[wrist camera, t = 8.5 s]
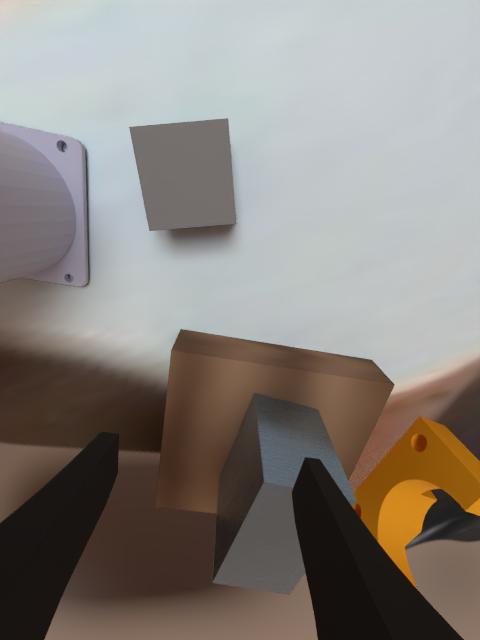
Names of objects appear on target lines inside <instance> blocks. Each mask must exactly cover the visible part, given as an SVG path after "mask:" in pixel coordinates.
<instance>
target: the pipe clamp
mask: <svg viewBox="0 0 480 640" xmlns="http://www.w3.org/2000/svg"><path fill="white" fill-rule="evenodd" d="M439 488H441V489H443V490H444V491H446V492H447V493H448V494H449V495H451V496H452V497H453V498H454V499H455V500H456V501H457V502H458V503H459V504H460V505H461V507H462V508H463V509H464V510H465V511H467V512H470V513H473V514H476V515H479V516H480V461H479V460H478V459H477V458H476V457H475V456H474V455H473V454H472V453H471V452H470V451H469V450H468V449H467V448H466V447H465V446H464V445H463V444H462V443H461V442H460V441H459V440H458V439H457V438H456V437H455V436H454V435H453V434H452V433H451V432H450V431H449V430H448V429H447V428H446V427H445V426H444V425H441V424H439V423H436V422H433V421H431V420H428V419H426V418H423V417H419V418H418V419H417V420H416V421H415V422H414V424H413V425H412V426H411V427H410V428H409V429H408V431H407V432H406V433H405V434H404V435H403V436H402V437H401V439H400V440H399V441H398V442H397V443H396V444H395V446H394V447H393V448H392V449H391V450H390V451H389V453H388V454H387V455H386V456H385V457H384V458H383V459H382V461H381V462H380V463H379V464H378V465H377V466H376V468H375V469H374V470H373V471H372V472H371V473H370V474H369V476H368V477H367V478H366V479H365V480H364V481H363V483H362V484H361V485H360V486H359V487H358V488H357V490H356V491H355V492H354V496H355V498H356V501H357V502H356V503H355V504H354V506H353V509H354V510H355V511H356V513H357V514H358V516H359V517H360V518H361V520H362V521H363V523H364V524H365V525H366V527H367V528H368V529H369V531H370V532H371V534H372V535H373V536H374V537H375V539H376V540H377V541H378V543H379V544H380V545H381V547H382V548H383V549H384V550H385V552H386V553H387V554H388V555H389V557H390V558H391V559H392V560H393V562H394V563H395V564H396V565H397V566H398V568H399V569H400V570H401V571H402V572H403V574H404V575H405V576H406V577H407V578H408V579H409V581H410V582H411V583H412V584H413V585H414V586H415V588H416V587H417V586H416V584H415V582H414V580H413V577H412V575H411V572H410V569H409V565H408V562H407V558H406V553H405V546H406V545H407V544H408V543H409V542H410V541H411V540H412V539H414V538H415V537H416V536H417V535H418V534H419V533H420V532H421V529H422V524H423V520H424V517H425V515H426V513H427V511H428V509H429V508H430V507H431V505H432V504H433V503H434V502H435V501H437V499H436V498H435V496H434V495H433V493H432V492H431V491H430V490H432V489H439Z"/></svg>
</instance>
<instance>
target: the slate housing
mask: <svg viewBox="0 0 480 640" xmlns="http://www.w3.org/2000/svg"><path fill="white" fill-rule="evenodd" d="M305 457H308V458H316V459H320V460H321V462H322V463H323V464H324V466H325V467H326V469H327V470H328V472H329V473H330V475H331V476H332V478H333V479H334V481H335V482H336V484H337V485H338V487H339V488H340V490H341V491H342V493H343V494H344V496H345V497H346V499H347V500H348V502H349V503H350V504H351V506H352V507H353V506H354V504H355V503H356V502H357V501H356V498H355V496H354V493H353V491H352V489H351V486H350V484H349V482H348V479H347V477H346V474H345V472H344V470H343V467H342V465H341V463H340V460H339V458H338V455H337V453H336V451H335V448H334V446H333V444H332V441H331V439H330V436H329V434H328V432H327V429H326V427H325V425H324V422H323V420H322V417H321V415H320V413H319V410H318V409H316V408H312V407H308V406H304V405H300V404H297V403H293V402H289V401H285V400H281V399H277V398H273V397H270V396H266V395H262V394H258V393H254V395H253V397H252V400H251V402H250V404H249V407H248V409H247V412H246V414H245V416H244V419H243V421H242V423H241V426H240V428H239V431H238V433H237V435H236V438H235V440H234V443H233V445H232V447H231V450H230V452H229V455H228V457H227V459H226V462H225V464H224V466H223V469H222V471H221V474H220V476H219V481H218V498H217V515H216V534H215V548H214V566H213V583H217V584H224V585H230V586H237V587H243V588H250V589H256V590H263V591H269V592H275V593H282V594H290V593H291V592H292V590H293V589H294V588H295V586H296V585H297V583H298V582H299V581H300V579H301V578H302V577H303V575H304V574H305V567H304V563H303V558H302V554H301V549H300V544H299V540H298V535H297V530H296V525H295V519H294V511H293V501H292V490H293V487H294V485H295V482H296V479H297V477H298V474H299V471H300V469H301V466H302V464H303V461H304V458H305Z"/></svg>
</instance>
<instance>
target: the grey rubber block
mask: <svg viewBox="0 0 480 640" xmlns="http://www.w3.org/2000/svg"><path fill="white" fill-rule="evenodd" d="M129 128H130V133H131V138H132V143H133V148H134V154H135V159H136V164H137V169H138V174H139V179H140V184H141V190H142V195H143V200H144V205H145V210H146V215H147V220H148V225H149V231H155V230H167V229H179V228H191V227H203V226H215V225H227V224H236V215H235V202H234V189H233V176H232V163H231V151H230V138H229V125H228V119H216V120H205V121H194V122H182V123H171V124H159V125H148V126H136V127H129Z"/></svg>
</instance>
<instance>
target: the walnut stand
mask: <svg viewBox="0 0 480 640" xmlns="http://www.w3.org/2000/svg"><path fill="white" fill-rule="evenodd" d="M393 387H394V383H393V382H392V381H391V380H390V379H389V378H388V377H387V376H386V375H385V374H384V373H383V372H382V370H381V369H380V368H379V367H378V366H377V365H376V364H375V363H374V362H373V361H372V360H368V359H362V358H356V357H349V356H343V355H337V354H331V353H325V352H318V351H312V350H306V349H300V348H294V347H287V346H281V345H275V344H269V343H262V342H256V341H250V340H244V339H238V338H231V337H225V336H219V335H213V334H207V333H200V332H194V331H188V330H182V329H181V330H180V333H179V335H178V337H177V339H176V341H175V344H174V346H173V348H172V350H171V360H170V369H169V379H168V388H167V398H166V407H165V417H164V426H163V436H162V446H161V455H160V465H159V475H158V484H157V494H156V504H155V507H159V508H169V509H179V510H188V511H198V512H208V513H217V498H218V481H219V476H220V474H221V471H222V469H223V466H224V464H225V462H226V459H227V457H228V455H229V452H230V450H231V447H232V445H233V443H234V440H235V438H236V435H237V433H238V431H239V428H240V426H241V423H242V421H243V419H244V416H245V414H246V412H247V409H248V407H249V404H250V402H251V400H252V397H253V395H254V393H258V394H262V395H266V396H270V397H273V398H277V399H281V400H285V401H289V402H293V403H297V404H300V405H304V406H308V407H312V408H316V409H318V410H319V413H320V415H321V417H322V420H323V422H324V425H325V427H326V429H327V432H328V434H329V436H330V439H331V441H332V444H333V446H334V448H335V451H336V453H337V455H338V458H339V460H340V463H341V465H342V467H343V470H344V472H345V474H346V477H347V479H348V480H349V478H350V476H351V474H352V472H353V470H354V468H355V466H356V464H357V462H358V460H359V458H360V455H361V453H362V451H363V449H364V447H365V445H366V443H367V441H368V439H369V437H370V435H371V433H372V431H373V429H374V426H375V424H376V422H377V420H378V418H379V416H380V414H381V412H382V410H383V408H384V406H385V404H386V402H387V400H388V397H389V395H390V393H391V391H392V389H393Z"/></svg>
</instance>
